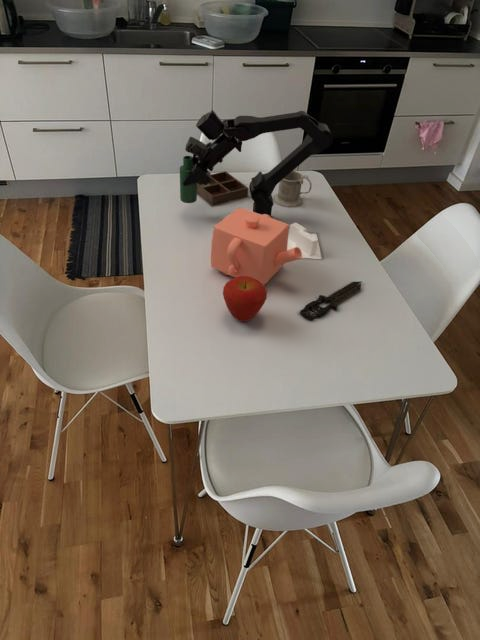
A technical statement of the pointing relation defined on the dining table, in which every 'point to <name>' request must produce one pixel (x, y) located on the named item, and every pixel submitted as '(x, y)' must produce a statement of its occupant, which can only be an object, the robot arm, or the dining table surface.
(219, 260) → the teapot
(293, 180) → the mug
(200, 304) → the dining table surface
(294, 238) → the napkin holder
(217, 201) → the tray
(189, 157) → the bottle
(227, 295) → the apple
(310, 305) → the knife
